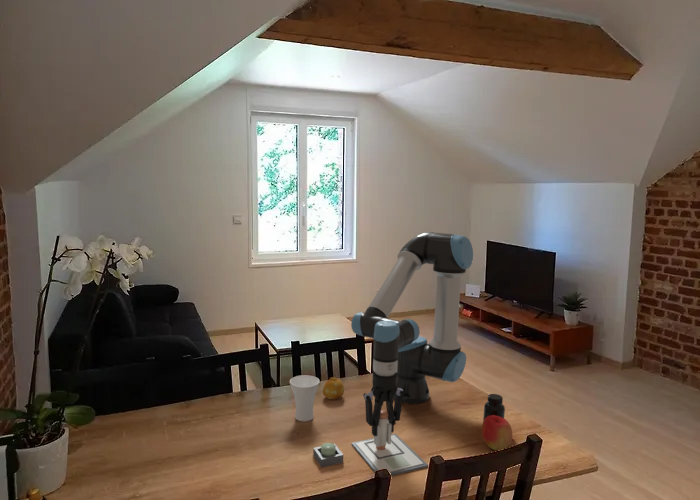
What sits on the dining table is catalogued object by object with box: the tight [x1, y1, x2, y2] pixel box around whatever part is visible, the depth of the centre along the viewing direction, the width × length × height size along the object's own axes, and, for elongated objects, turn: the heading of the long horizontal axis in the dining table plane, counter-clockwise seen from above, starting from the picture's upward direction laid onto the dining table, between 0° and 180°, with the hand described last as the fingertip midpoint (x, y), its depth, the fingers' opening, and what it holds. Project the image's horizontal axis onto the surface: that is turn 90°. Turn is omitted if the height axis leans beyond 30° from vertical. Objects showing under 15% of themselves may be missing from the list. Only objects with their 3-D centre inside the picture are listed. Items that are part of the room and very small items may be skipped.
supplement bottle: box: [482, 393, 506, 422], centre depth 177 cm, size 7×7×12 cm
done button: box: [321, 442, 337, 457], centre depth 157 cm, size 4×4×3 cm
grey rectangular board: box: [350, 433, 429, 477], centre depth 160 cm, size 20×16×1 cm
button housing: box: [312, 443, 344, 468], centre depth 158 cm, size 7×7×2 cm
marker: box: [376, 408, 389, 450], centre depth 162 cm, size 4×4×12 cm
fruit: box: [322, 376, 345, 401], centre depth 200 cm, size 8×8×8 cm
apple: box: [481, 415, 513, 451], centre depth 165 cm, size 10×10×10 cm
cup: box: [289, 374, 321, 422], centre depth 183 cm, size 10×10×14 cm
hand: (382, 443), depth 162 cm, fingers closed on marker, 3 cm apart
